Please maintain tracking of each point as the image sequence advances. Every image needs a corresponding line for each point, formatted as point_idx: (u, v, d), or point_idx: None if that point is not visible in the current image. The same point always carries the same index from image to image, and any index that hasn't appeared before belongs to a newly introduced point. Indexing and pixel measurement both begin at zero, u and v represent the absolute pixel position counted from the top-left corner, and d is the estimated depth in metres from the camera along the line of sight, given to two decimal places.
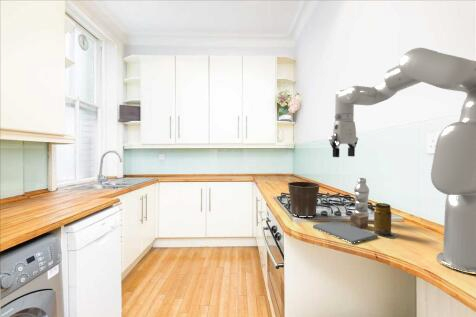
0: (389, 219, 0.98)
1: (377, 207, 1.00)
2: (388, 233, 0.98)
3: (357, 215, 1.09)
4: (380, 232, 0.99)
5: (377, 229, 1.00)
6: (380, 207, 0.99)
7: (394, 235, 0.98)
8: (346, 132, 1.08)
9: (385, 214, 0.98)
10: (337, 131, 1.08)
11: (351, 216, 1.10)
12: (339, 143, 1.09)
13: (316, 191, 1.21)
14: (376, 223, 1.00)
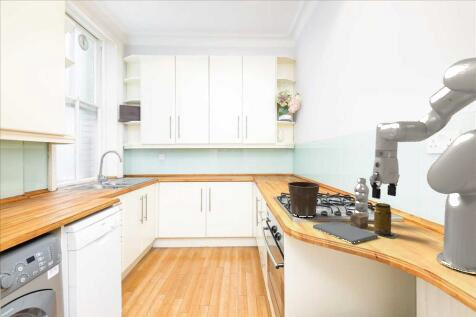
0: (389, 219, 0.98)
1: (377, 207, 1.00)
2: (388, 233, 0.98)
3: (357, 215, 1.09)
4: (380, 232, 0.99)
5: (377, 229, 1.00)
6: (380, 207, 0.99)
7: (394, 235, 0.98)
8: (389, 171, 0.96)
9: (385, 214, 0.98)
10: (379, 170, 0.96)
11: (351, 216, 1.10)
12: (380, 183, 0.96)
13: (316, 191, 1.21)
14: (376, 223, 1.00)
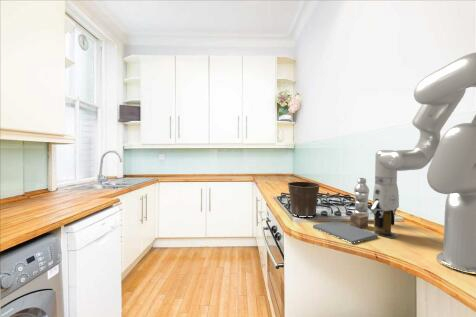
0: (389, 219, 0.98)
1: None
2: (388, 233, 0.98)
3: (357, 215, 1.09)
4: (380, 232, 0.99)
5: (377, 229, 1.00)
6: None
7: (394, 235, 0.98)
8: (389, 198, 0.96)
9: (385, 213, 0.98)
10: (379, 197, 0.96)
11: (351, 216, 1.10)
12: (382, 211, 0.97)
13: (316, 191, 1.21)
14: None
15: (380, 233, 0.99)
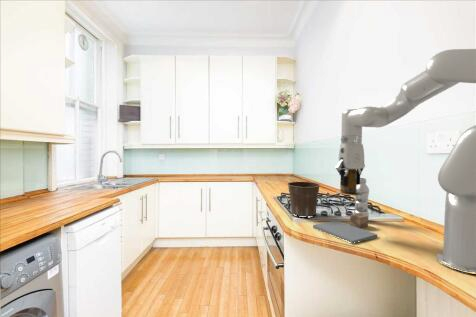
0: (354, 178, 0.99)
1: None
2: (353, 192, 0.99)
3: (357, 215, 1.09)
4: (345, 191, 1.00)
5: (342, 188, 1.01)
6: None
7: (359, 194, 0.99)
8: (353, 156, 0.97)
9: (349, 172, 0.99)
10: (343, 155, 0.98)
11: (351, 216, 1.10)
12: (347, 170, 0.98)
13: (316, 191, 1.21)
14: None
15: (345, 192, 1.00)
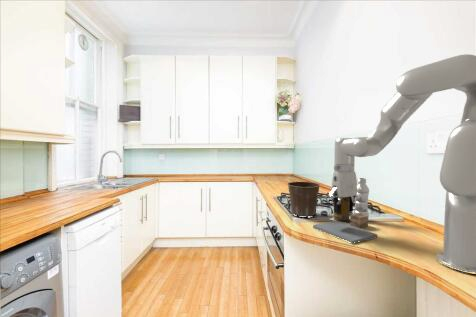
0: (347, 205, 1.00)
1: None
2: (346, 219, 1.00)
3: (357, 215, 1.09)
4: (338, 218, 1.01)
5: (336, 215, 1.02)
6: None
7: (352, 221, 1.00)
8: (346, 185, 0.98)
9: (342, 200, 1.00)
10: (336, 184, 0.98)
11: (351, 216, 1.10)
12: (340, 198, 0.99)
13: (316, 191, 1.21)
14: None
15: (338, 219, 1.01)
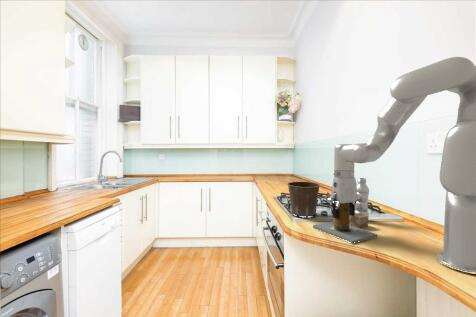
0: (347, 215, 1.00)
1: (336, 203, 1.02)
2: (346, 228, 1.00)
3: (357, 215, 1.09)
4: (338, 228, 1.01)
5: (336, 224, 1.02)
6: None
7: (352, 230, 1.00)
8: (346, 191, 0.98)
9: (343, 209, 1.00)
10: (336, 190, 0.99)
11: (351, 216, 1.10)
12: (339, 203, 0.99)
13: (316, 191, 1.21)
14: (335, 218, 1.02)
15: (338, 229, 1.01)
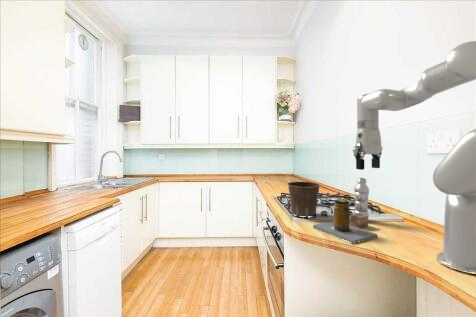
0: (347, 215, 1.00)
1: (336, 203, 1.02)
2: (346, 228, 1.00)
3: (357, 215, 1.09)
4: (338, 228, 1.01)
5: (336, 224, 1.02)
6: (338, 203, 1.01)
7: (352, 230, 1.00)
8: (371, 141, 0.96)
9: (343, 209, 1.00)
10: (361, 140, 0.96)
11: (351, 216, 1.10)
12: (364, 154, 0.96)
13: (316, 191, 1.21)
14: (335, 219, 1.02)
15: (338, 229, 1.01)
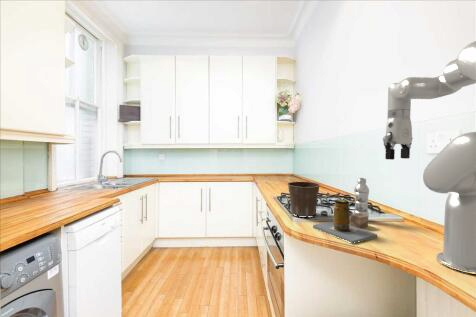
0: (347, 215, 1.00)
1: (336, 203, 1.02)
2: (346, 228, 1.00)
3: (357, 215, 1.09)
4: (338, 228, 1.01)
5: (336, 224, 1.02)
6: (338, 203, 1.01)
7: (352, 230, 1.00)
8: (402, 131, 0.94)
9: (343, 209, 1.00)
10: (392, 130, 0.95)
11: (351, 216, 1.10)
12: (394, 143, 0.95)
13: (316, 191, 1.21)
14: (335, 219, 1.02)
15: (338, 229, 1.01)
